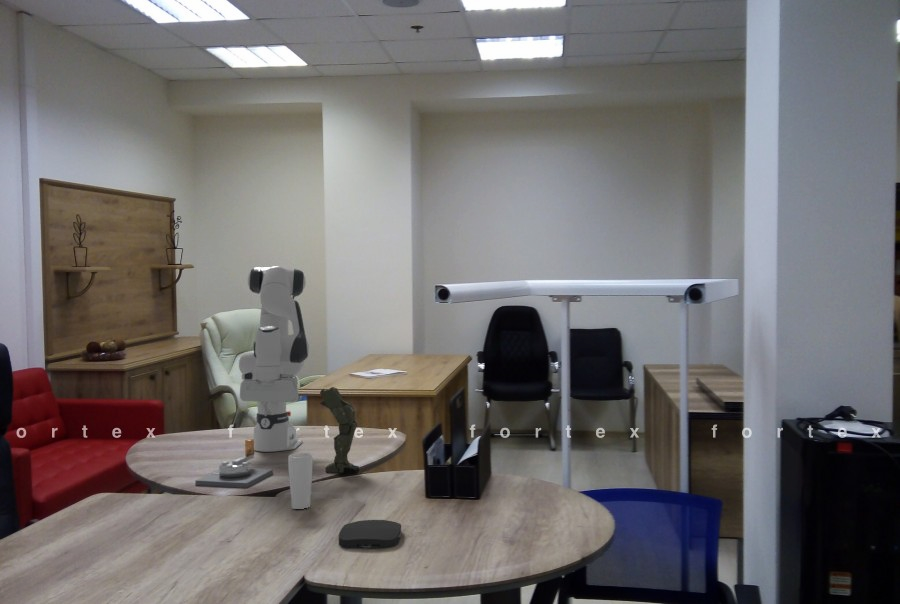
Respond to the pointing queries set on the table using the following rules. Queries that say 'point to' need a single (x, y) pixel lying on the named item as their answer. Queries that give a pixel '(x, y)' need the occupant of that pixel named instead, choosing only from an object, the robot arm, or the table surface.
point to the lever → (238, 463)
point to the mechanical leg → (341, 430)
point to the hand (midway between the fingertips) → (269, 414)
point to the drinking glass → (300, 479)
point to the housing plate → (234, 479)
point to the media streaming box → (370, 534)
